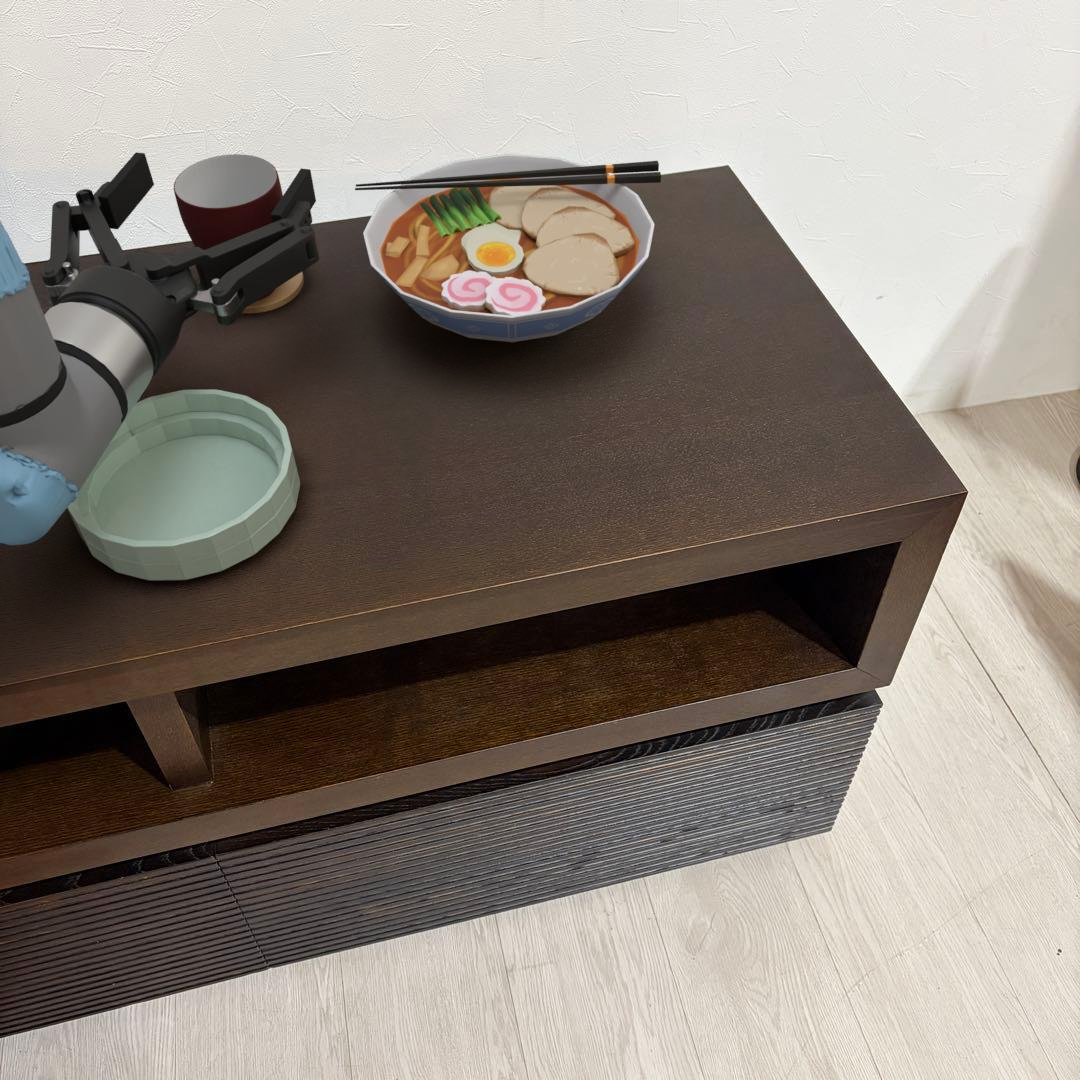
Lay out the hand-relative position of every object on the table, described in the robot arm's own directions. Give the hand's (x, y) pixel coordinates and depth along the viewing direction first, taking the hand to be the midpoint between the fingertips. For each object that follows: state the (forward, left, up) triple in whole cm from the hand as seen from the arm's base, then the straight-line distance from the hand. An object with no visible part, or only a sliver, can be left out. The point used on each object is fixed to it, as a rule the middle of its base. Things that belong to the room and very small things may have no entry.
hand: (226, 176), depth 86 cm
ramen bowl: (+21, +7, -11) cm, 25 cm away
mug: (0, 0, -10) cm, 10 cm away
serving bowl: (+12, -23, -10) cm, 27 cm away
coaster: (0, 0, -10) cm, 10 cm away
